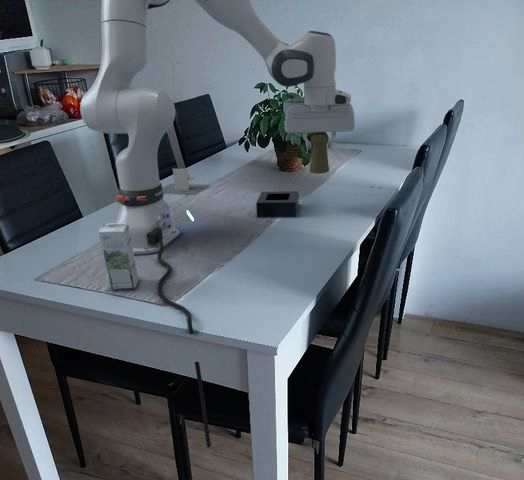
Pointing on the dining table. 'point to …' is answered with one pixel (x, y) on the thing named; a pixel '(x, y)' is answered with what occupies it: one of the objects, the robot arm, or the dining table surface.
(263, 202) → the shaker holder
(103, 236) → the syrup box
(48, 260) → the dining table surface
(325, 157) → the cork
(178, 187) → the architectural model
